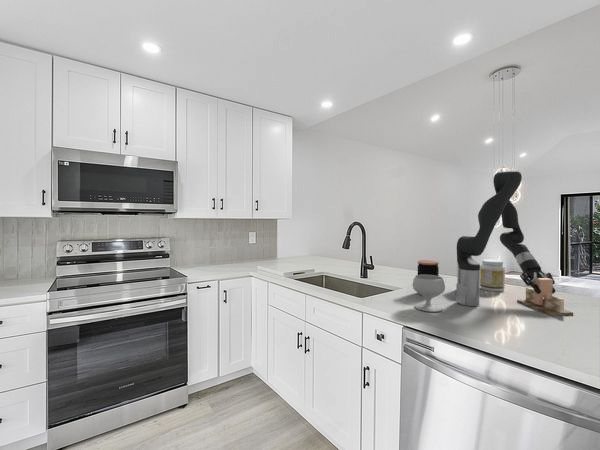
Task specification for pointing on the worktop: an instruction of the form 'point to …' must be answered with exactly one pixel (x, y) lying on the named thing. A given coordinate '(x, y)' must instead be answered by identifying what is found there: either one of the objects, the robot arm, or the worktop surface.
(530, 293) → the ridged rail
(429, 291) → the chalice
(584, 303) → the worktop surface
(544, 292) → the slotted upright
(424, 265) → the coffee jar
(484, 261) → the supplement tub
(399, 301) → the worktop surface
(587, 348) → the worktop surface
